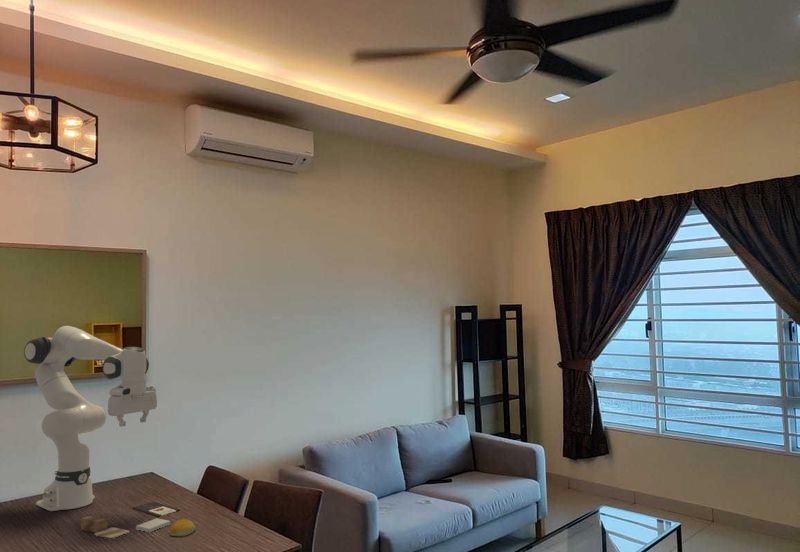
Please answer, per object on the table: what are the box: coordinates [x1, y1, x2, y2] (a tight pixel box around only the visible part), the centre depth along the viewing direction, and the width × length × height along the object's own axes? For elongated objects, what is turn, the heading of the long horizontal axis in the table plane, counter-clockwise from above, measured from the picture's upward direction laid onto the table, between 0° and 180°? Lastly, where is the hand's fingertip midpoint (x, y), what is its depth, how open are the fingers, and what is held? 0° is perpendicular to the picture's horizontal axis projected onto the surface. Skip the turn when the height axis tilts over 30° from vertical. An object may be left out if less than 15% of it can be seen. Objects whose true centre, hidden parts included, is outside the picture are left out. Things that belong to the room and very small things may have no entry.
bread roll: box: [169, 518, 196, 537], centre depth 205 cm, size 8×9×4 cm
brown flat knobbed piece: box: [80, 515, 130, 539], centre depth 206 cm, size 19×7×4 cm, turn 64°
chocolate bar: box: [132, 501, 180, 518], centre depth 230 cm, size 9×1×18 cm
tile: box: [135, 517, 171, 534], centre depth 210 cm, size 2×9×7 cm
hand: (132, 424), depth 228 cm, fingers open, 8 cm apart
